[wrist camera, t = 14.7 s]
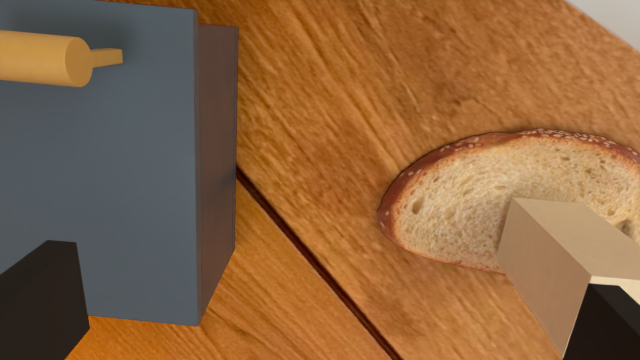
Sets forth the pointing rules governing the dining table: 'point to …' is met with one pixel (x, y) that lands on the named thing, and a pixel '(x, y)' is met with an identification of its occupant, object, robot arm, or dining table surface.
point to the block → (563, 260)
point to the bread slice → (505, 191)
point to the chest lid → (105, 149)
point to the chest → (217, 150)
